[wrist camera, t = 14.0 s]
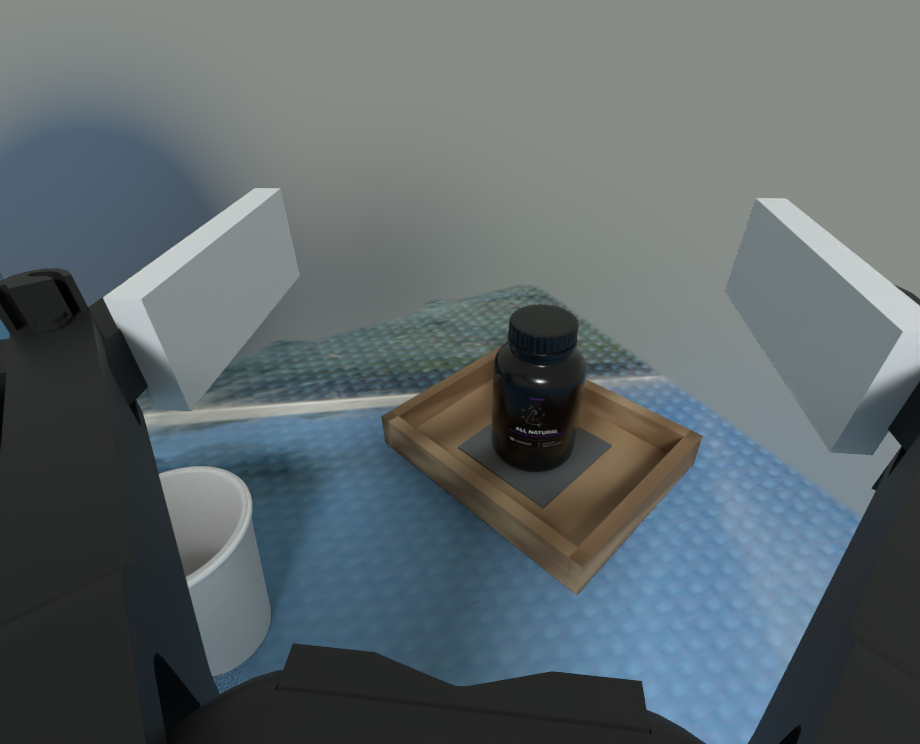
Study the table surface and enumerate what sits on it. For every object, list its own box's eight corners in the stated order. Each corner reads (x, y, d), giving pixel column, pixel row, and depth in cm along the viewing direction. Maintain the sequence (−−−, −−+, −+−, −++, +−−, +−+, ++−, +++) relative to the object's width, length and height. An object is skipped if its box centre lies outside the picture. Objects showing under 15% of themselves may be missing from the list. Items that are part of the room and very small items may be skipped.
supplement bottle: (522, 488, 38) (530, 357, 31) (476, 435, 43) (474, 311, 36) (592, 455, 41) (614, 327, 34) (541, 408, 46) (551, 288, 39)
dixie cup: (122, 712, 27) (25, 614, 22) (178, 573, 34) (116, 470, 28) (278, 695, 28) (224, 594, 22) (303, 561, 35) (266, 457, 29)
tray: (385, 442, 44) (381, 416, 42) (508, 366, 53) (508, 341, 51) (576, 595, 32) (581, 567, 30) (693, 463, 41) (702, 436, 39)
